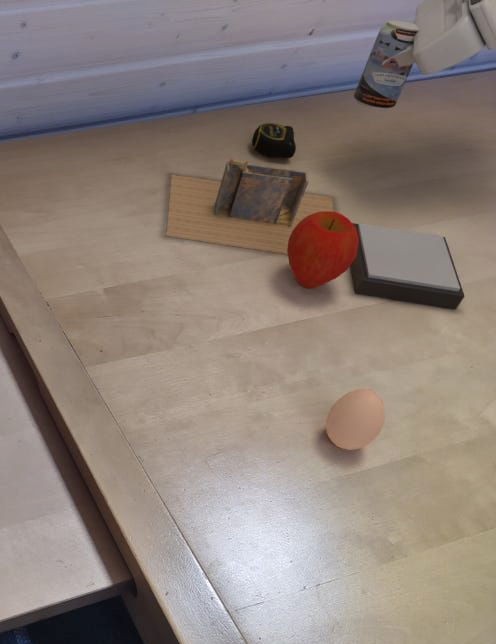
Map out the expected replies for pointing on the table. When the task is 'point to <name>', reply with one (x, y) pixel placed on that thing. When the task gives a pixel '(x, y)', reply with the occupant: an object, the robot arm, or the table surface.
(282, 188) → the architectural model on board
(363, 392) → the egg
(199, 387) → the table surface
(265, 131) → the tape measure
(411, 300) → the scale
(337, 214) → the apple
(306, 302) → the table surface
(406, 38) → the beverage can
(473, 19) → the robot arm
